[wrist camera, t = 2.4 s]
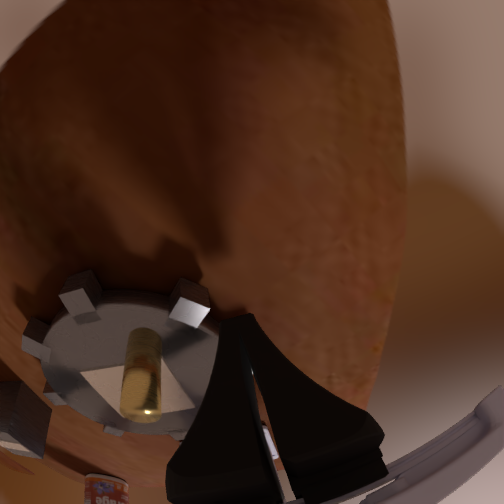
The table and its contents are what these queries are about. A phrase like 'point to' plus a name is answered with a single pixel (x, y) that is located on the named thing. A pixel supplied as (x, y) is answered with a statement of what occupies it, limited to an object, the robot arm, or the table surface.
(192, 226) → the table surface
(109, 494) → the pill bottle
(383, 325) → the table surface
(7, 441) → the grooved silver cube
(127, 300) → the sprocket
